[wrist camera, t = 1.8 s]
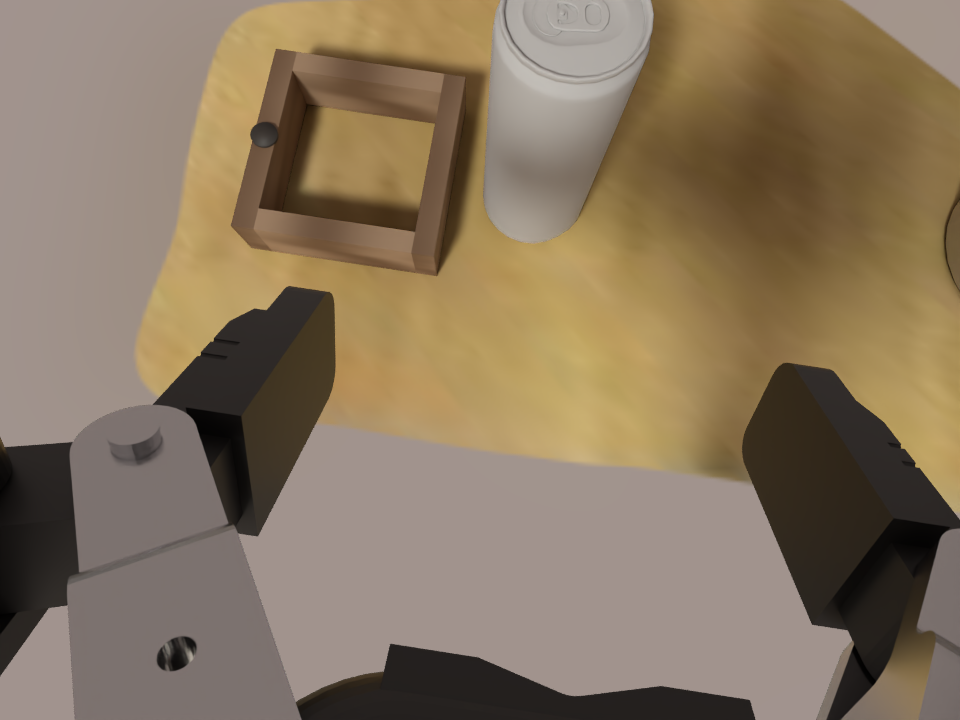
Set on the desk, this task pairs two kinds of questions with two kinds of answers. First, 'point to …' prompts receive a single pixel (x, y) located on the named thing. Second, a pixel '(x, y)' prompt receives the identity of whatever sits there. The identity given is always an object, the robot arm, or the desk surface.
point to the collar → (359, 91)
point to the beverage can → (556, 105)
